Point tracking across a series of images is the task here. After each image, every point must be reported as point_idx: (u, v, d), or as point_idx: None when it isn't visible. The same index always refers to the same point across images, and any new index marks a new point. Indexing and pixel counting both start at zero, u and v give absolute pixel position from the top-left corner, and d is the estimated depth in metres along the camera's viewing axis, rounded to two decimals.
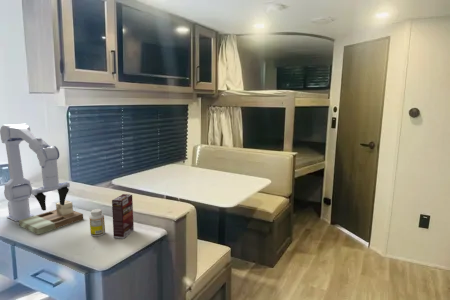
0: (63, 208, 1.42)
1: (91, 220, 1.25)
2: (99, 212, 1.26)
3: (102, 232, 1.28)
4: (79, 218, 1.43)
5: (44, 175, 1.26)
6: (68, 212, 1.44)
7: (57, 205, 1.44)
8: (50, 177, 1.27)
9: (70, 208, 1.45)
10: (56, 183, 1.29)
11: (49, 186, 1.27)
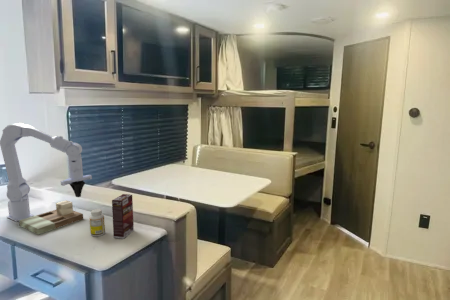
0: (63, 208, 1.42)
1: (91, 220, 1.25)
2: (99, 212, 1.26)
3: (102, 232, 1.28)
4: (79, 218, 1.43)
5: (75, 168, 1.45)
6: (68, 212, 1.44)
7: (57, 205, 1.44)
8: (76, 170, 1.46)
9: (70, 208, 1.45)
10: (81, 175, 1.48)
11: (75, 178, 1.46)
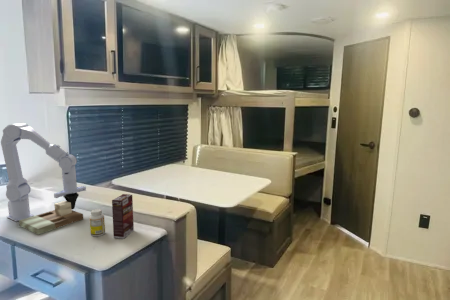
0: (62, 208, 1.42)
1: (91, 220, 1.25)
2: (99, 212, 1.26)
3: (102, 232, 1.28)
4: (79, 218, 1.43)
5: (68, 180, 1.43)
6: (67, 212, 1.44)
7: (56, 205, 1.43)
8: (70, 182, 1.44)
9: (69, 208, 1.44)
10: (75, 187, 1.46)
11: (69, 190, 1.44)
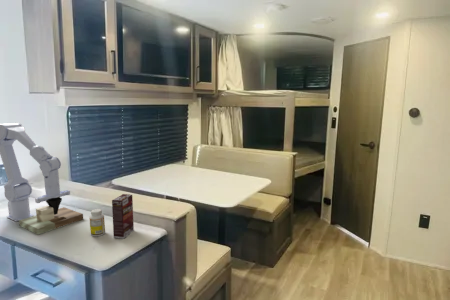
0: (43, 214, 1.35)
1: (91, 220, 1.25)
2: (99, 212, 1.26)
3: (102, 232, 1.28)
4: (79, 218, 1.43)
5: (48, 184, 1.37)
6: (49, 218, 1.37)
7: (37, 211, 1.36)
8: (52, 186, 1.37)
9: (51, 214, 1.38)
10: (58, 191, 1.39)
11: (51, 194, 1.37)
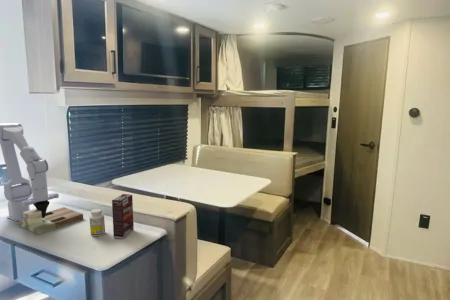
0: (31, 218, 1.31)
1: (91, 220, 1.25)
2: (99, 212, 1.26)
3: (102, 232, 1.28)
4: (79, 218, 1.43)
5: (33, 187, 1.32)
6: (37, 222, 1.33)
7: (24, 214, 1.32)
8: (39, 189, 1.33)
9: (39, 217, 1.34)
10: (45, 194, 1.35)
11: (38, 197, 1.33)
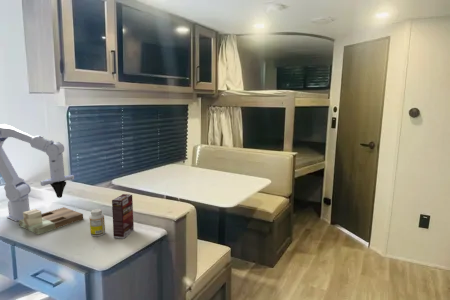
0: (30, 218, 1.31)
1: (91, 220, 1.25)
2: (99, 212, 1.26)
3: (102, 232, 1.28)
4: (79, 218, 1.43)
5: (55, 168, 1.42)
6: (36, 222, 1.33)
7: (24, 214, 1.32)
8: (57, 170, 1.42)
9: (39, 218, 1.34)
10: (62, 175, 1.44)
11: (56, 178, 1.42)
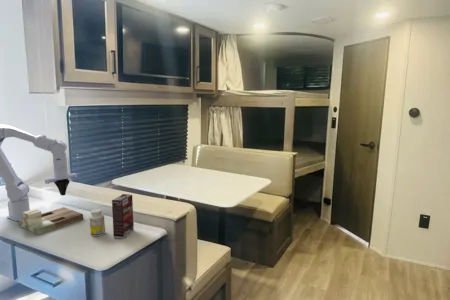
0: (30, 218, 1.31)
1: (91, 220, 1.25)
2: (99, 212, 1.26)
3: (102, 232, 1.28)
4: (79, 218, 1.43)
5: (60, 166, 1.45)
6: (36, 222, 1.33)
7: (24, 214, 1.32)
8: (60, 168, 1.46)
9: (39, 218, 1.34)
10: (66, 173, 1.48)
11: (60, 176, 1.46)
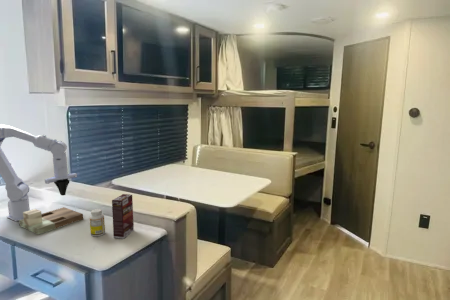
0: (30, 218, 1.31)
1: (91, 220, 1.25)
2: (99, 212, 1.26)
3: (102, 232, 1.28)
4: (79, 218, 1.43)
5: (60, 166, 1.45)
6: (36, 222, 1.33)
7: (24, 214, 1.32)
8: (60, 168, 1.46)
9: (39, 218, 1.34)
10: (66, 173, 1.48)
11: (60, 176, 1.46)
